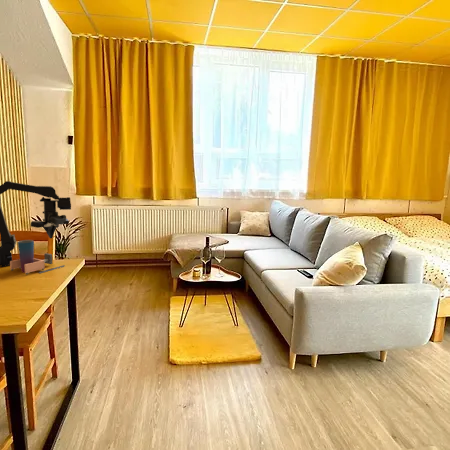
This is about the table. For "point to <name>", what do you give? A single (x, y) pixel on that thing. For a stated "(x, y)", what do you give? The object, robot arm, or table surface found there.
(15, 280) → the table surface
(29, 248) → the cup
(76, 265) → the table surface
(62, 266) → the rails
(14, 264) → the caddy
